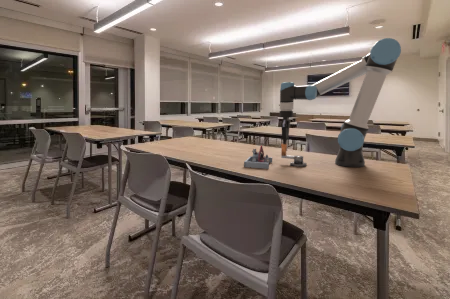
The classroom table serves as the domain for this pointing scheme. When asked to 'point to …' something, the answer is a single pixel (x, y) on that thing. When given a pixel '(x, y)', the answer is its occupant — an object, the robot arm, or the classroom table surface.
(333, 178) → the classroom table surface
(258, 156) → the grey red spired block
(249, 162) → the tray
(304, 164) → the crank base
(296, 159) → the crank
